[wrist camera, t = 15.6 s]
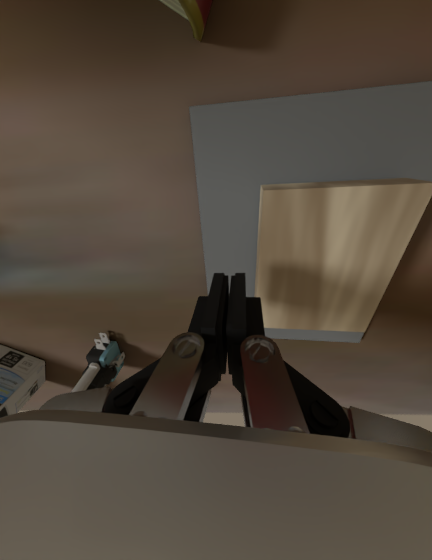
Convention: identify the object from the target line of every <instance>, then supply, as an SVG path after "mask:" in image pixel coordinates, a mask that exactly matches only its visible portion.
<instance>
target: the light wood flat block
mask: <svg viewBox="0 0 432 560" xmlns="http://www.w3.org/2000/svg"><path fill="white" fill-rule="evenodd" d="M431 196H432V182H430V181H424V180H417V179H411V178H392V179H371V180H351V181H330V182H310V183H289V184H269V185H261V188H260V206H259V223H258V241H257V259H256V277H255V295H254V297H260V298H261V305H262V314H263V322H264V328H281V329H303V330H325V331H347V332H365V331H366V329H367V327H368V325H369V323H370V321H371V319H372V317H373V315H374V312H375V310H376V308H377V306H378V304H379V302H380V300H381V298H382V296H383V294H384V292H385V290H386V288H387V286H388V284H389V282H390V280H391V278H392V276H393V274H394V272H395V270H396V268H397V266H398V264H399V262H400V259H401V257H402V255H403V253H404V251H405V249H406V247H407V245H408V243H409V241H410V239H411V237H412V235H413V233H414V231H415V229H416V227H417V225H418V223H419V221H420V219H421V217H422V215H423V213H424V211H425V209H426V206H427V204H428V202H429V200H430V198H431Z"/></svg>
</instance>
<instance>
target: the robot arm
mask: <svg viewBox="0 0 432 560" xmlns="http://www.w3.org/2000/svg"><path fill="white" fill-rule="evenodd" d="M227 352H228V368H229V374H232V381H233V385H234V386H235V387H236V388H237V390H238V391H239V392H240V393H241V401H242V409H243V416H244V422H245V423H244V424H245V427H241V426H232V425H222V424H212V423H203V419H204V416H205V412H206V409H207V405H208V402H209V398H210V395H211V388H213V387H214V386H215V385H216V384H217V383H218V381H221V374H225V373H226V362H227ZM0 560H432V432H430V431H428V430H426V429H424V428H421V427H419V426H415V425H412V424H409V423H406V422H402V421H399V420H396V419H392V418H389V417H385V416H382V415H379V414H375V413H372V412H369V411H365V410H362V409H359V408H355V407H352V406H350V408H345V407H342V406H340V405H339V404H338V403H337V402H336V401H335V400H334V399H333V398H331V397H330V396H329V395H327V394H326V393H325V392H324V391H322V390H321V389H320V388H318V387H317V386H316V385H315V384H313V383H312V382H311V381H309V380H308V379H307V378H306V377H304V376H303V375H302V374H300V373H299V372H298V371H297V370H295V369H294V368H293V367H291V366H290V365H289V364H288V363H286V362H285V361H284V360H283V359H282V356H281V353H280V350H279V348H278V346H277V344H276V343H275V342H274V341H273V340H272V339H270V338H268V337H266V336H265V331H264V322H263V314H262V305H261V298H260V297H246V276H245V273H235V275H231V283H230V293H229V280H228V275H225V274H224V273H214V275H213V279H212V283H211V287H210V291H209V295H208V296H199V298H198V301H197V304H196V307H195V310H194V314H193V317H192V320H191V323H190V326H189V330H188V332H186V333H182V334H180V335H178V336H176V337H175V338H174V339H173V340H172V341H171V342H170V344H169V345H168V347H167V349H166V351H165V352H164V354H163V356H162V358H160V359H158V360H157V361H155V362H154V363H152V364H150V365H149V366H147V367H146V368H144V369H142V370H141V371H139V372H138V373H136V374H134V375H133V376H131V377H130V378H128V379H126V380H125V381H123V382H122V383H120V384H119V385H118V386H116V387H115V388H113V389H111V387H110V386H109V387H102V388H96V389H90V390H84V391H78V392H71V393H65V394H61V395H58V396H55V397H53V398H51V399H50V400H48V401H47V402H46V403H45V404H44V405H42V406H41V407H40V409H39V410H32V411H26V412H20V413H16V414H12V415H8V416H5V417H1V418H0Z"/></svg>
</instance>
